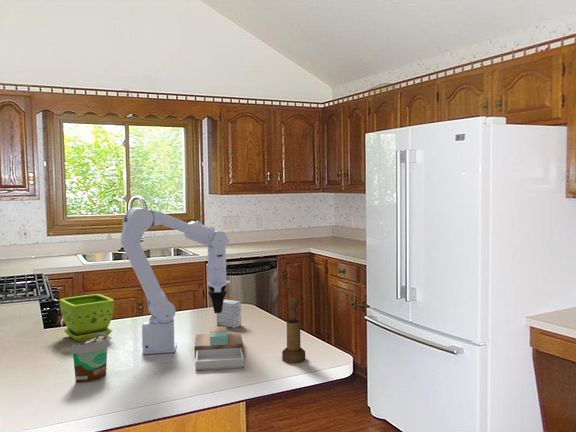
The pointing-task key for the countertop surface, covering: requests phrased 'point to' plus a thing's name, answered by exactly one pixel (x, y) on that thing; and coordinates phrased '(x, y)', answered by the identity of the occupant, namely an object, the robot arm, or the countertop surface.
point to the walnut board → (204, 344)
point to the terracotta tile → (218, 329)
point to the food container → (91, 358)
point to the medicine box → (230, 314)
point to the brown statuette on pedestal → (293, 336)
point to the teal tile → (218, 338)
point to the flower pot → (87, 315)
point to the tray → (219, 359)
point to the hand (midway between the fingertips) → (217, 310)
